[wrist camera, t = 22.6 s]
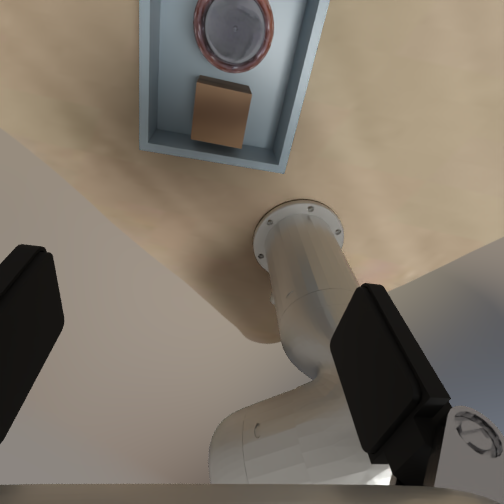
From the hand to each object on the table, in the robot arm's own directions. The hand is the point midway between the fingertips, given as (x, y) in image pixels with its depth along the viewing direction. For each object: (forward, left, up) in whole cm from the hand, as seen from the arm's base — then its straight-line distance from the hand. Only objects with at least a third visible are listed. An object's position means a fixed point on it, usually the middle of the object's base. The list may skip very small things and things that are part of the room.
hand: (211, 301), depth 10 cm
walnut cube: (0, 0, -30) cm, 30 cm away
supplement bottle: (+7, 0, -30) cm, 31 cm away
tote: (+4, 0, -30) cm, 31 cm away
